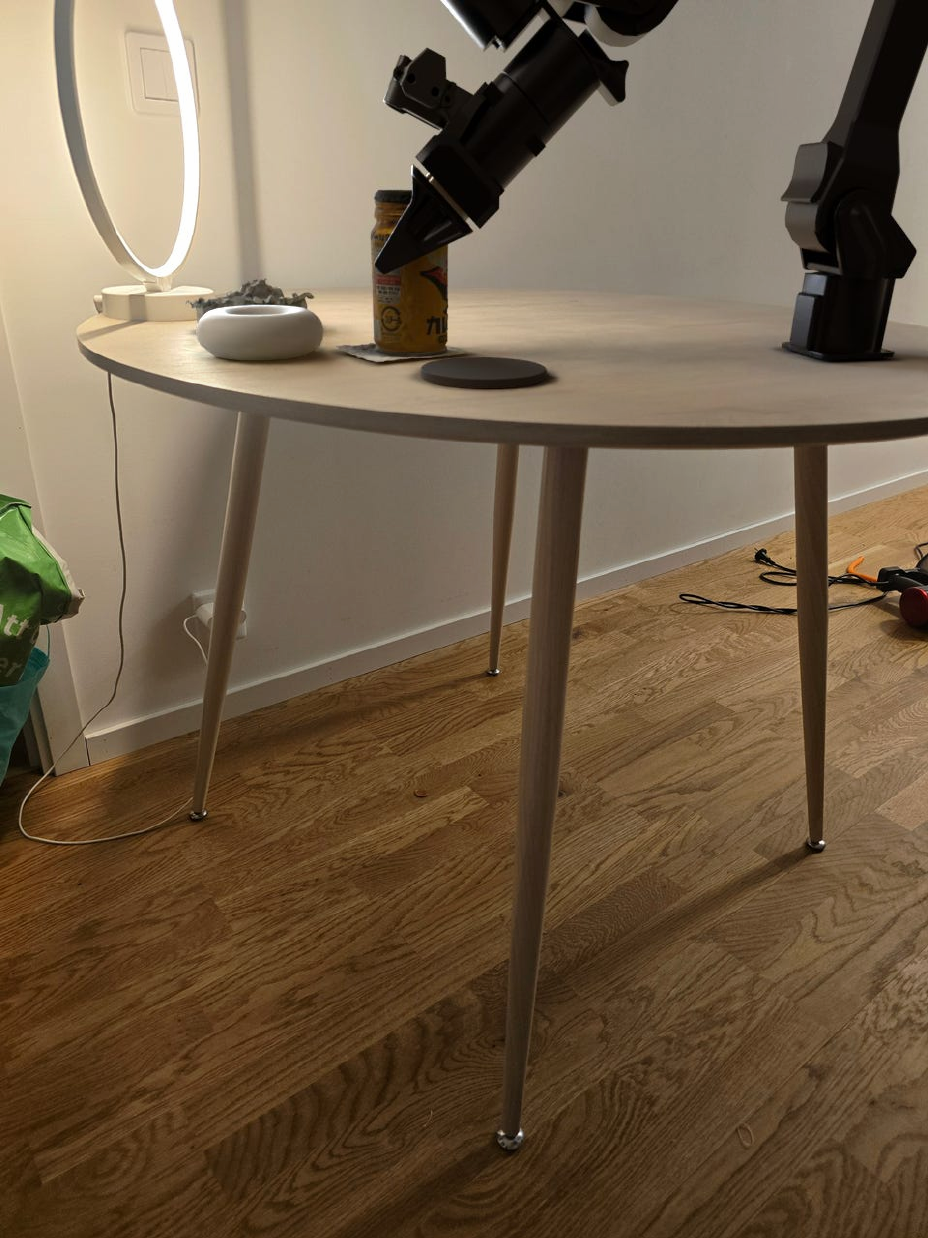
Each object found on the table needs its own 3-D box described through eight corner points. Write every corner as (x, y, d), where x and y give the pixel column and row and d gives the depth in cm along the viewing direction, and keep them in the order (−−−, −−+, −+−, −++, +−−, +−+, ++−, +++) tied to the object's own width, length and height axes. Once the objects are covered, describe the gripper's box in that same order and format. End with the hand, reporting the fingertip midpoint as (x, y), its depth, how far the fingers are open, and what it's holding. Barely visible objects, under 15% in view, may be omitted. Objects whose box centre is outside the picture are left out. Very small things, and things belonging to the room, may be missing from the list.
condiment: (468, 354, 72) (470, 190, 66) (376, 364, 67) (370, 189, 62) (422, 342, 77) (420, 189, 72) (334, 350, 73) (325, 188, 68)
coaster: (524, 362, 68) (524, 354, 68) (564, 385, 61) (564, 376, 60) (410, 366, 66) (410, 358, 66) (435, 391, 59) (435, 381, 58)
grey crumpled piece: (270, 320, 90) (266, 277, 88) (323, 327, 86) (321, 281, 84) (183, 331, 82) (177, 284, 80) (238, 339, 78) (233, 289, 76)
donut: (241, 342, 77) (172, 358, 69) (238, 300, 76) (167, 311, 67) (345, 349, 74) (287, 366, 66) (343, 306, 73) (283, 318, 64)
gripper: (448, 32, 71) (318, 185, 75) (450, -17, 54) (283, 184, 58) (542, 144, 74) (413, 284, 79) (571, 132, 57) (405, 310, 62)
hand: (381, 266), depth 69 cm, fingers open, 6 cm apart
